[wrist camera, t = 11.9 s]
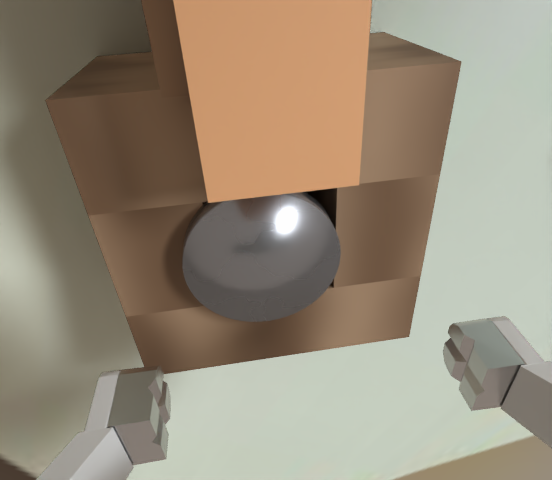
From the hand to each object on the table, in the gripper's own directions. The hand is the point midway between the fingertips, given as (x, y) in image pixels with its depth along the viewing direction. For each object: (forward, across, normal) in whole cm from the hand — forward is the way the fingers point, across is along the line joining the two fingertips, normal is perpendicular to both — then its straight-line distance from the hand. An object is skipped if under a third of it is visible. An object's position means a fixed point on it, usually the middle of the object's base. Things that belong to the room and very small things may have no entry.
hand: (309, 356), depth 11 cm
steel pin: (+12, +1, 0) cm, 12 cm away
